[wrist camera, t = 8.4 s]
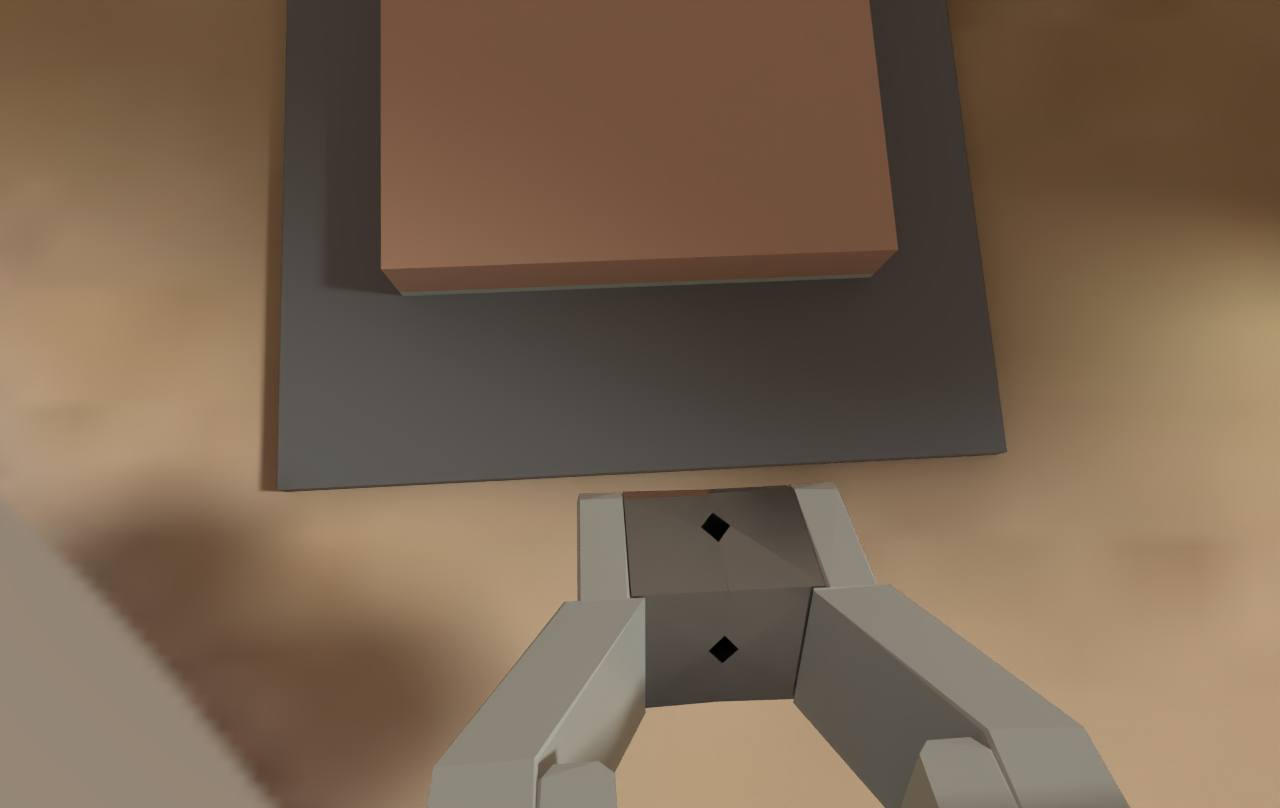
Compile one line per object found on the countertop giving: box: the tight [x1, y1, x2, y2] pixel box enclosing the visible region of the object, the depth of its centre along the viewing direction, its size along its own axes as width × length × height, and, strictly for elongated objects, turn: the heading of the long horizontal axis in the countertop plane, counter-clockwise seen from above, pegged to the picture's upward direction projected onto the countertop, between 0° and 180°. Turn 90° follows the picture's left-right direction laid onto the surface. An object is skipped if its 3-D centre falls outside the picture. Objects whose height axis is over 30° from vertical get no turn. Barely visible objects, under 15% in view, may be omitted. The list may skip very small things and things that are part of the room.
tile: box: [381, 0, 898, 296], centre depth 21 cm, size 12×2×12 cm
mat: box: [277, 0, 1007, 492], centre depth 22 cm, size 18×20×1 cm
